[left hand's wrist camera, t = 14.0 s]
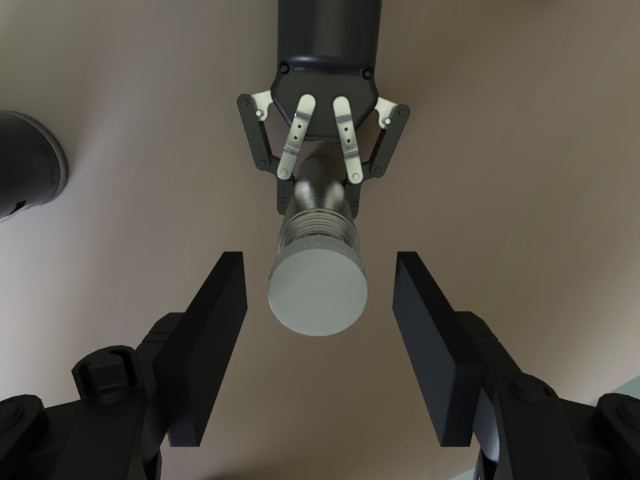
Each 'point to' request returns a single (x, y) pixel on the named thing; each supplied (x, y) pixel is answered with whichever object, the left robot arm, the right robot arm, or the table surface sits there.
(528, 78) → the table surface
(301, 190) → the bottle
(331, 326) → the cap
